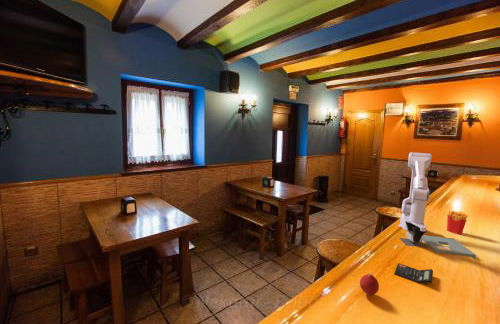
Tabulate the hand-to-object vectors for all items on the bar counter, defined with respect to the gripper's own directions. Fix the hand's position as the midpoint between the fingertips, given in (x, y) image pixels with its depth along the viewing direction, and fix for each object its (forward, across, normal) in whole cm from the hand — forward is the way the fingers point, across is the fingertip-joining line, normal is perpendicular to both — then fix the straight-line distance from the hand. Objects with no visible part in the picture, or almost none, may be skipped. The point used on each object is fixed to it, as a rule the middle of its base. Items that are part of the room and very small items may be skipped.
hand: (413, 238), depth 119 cm
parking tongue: (+3, 0, 0) cm, 3 cm away
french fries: (+3, -22, +31) cm, 38 cm away
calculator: (+3, +28, -12) cm, 31 cm away
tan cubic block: (+2, 0, 0) cm, 2 cm away
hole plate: (+3, 0, +14) cm, 14 cm away
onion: (+3, +44, -33) cm, 55 cm away
